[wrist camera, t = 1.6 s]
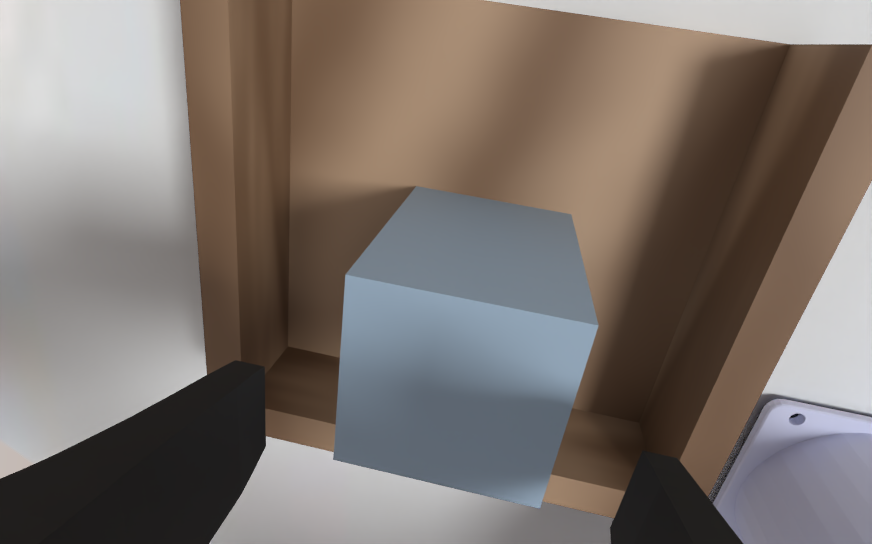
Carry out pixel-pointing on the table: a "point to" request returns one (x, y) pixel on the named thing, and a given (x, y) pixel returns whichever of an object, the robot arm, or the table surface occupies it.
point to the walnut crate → (526, 196)
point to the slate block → (464, 345)
